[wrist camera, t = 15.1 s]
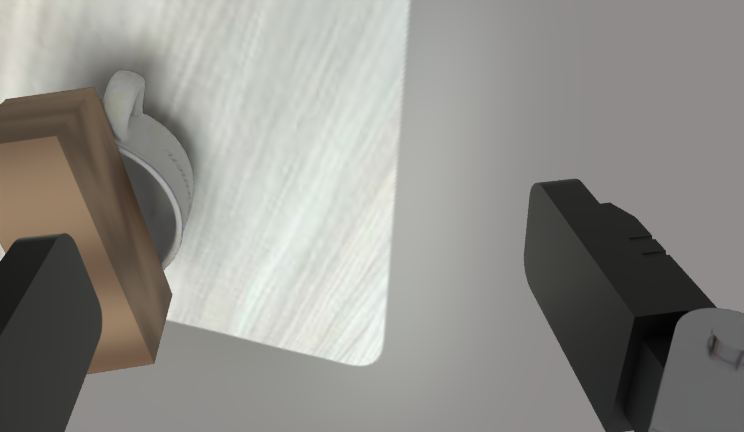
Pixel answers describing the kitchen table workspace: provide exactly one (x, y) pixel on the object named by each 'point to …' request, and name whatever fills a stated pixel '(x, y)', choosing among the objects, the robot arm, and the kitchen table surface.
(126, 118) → the teacup
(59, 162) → the walnut beam
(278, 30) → the kitchen table surface
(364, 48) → the kitchen table surface
